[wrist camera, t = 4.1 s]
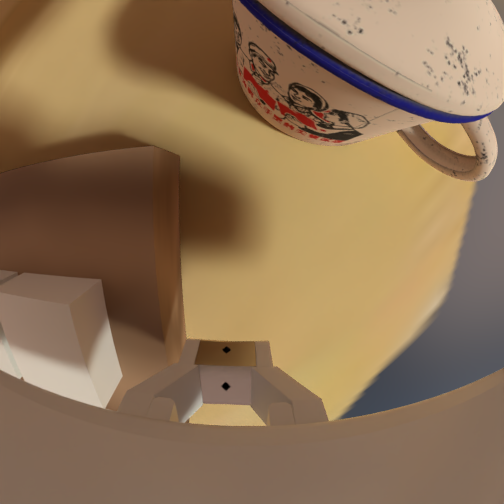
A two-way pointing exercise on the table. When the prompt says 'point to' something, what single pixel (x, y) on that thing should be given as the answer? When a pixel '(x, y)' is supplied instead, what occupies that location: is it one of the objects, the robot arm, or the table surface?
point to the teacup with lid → (376, 72)
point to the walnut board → (106, 244)
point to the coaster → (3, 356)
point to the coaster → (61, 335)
